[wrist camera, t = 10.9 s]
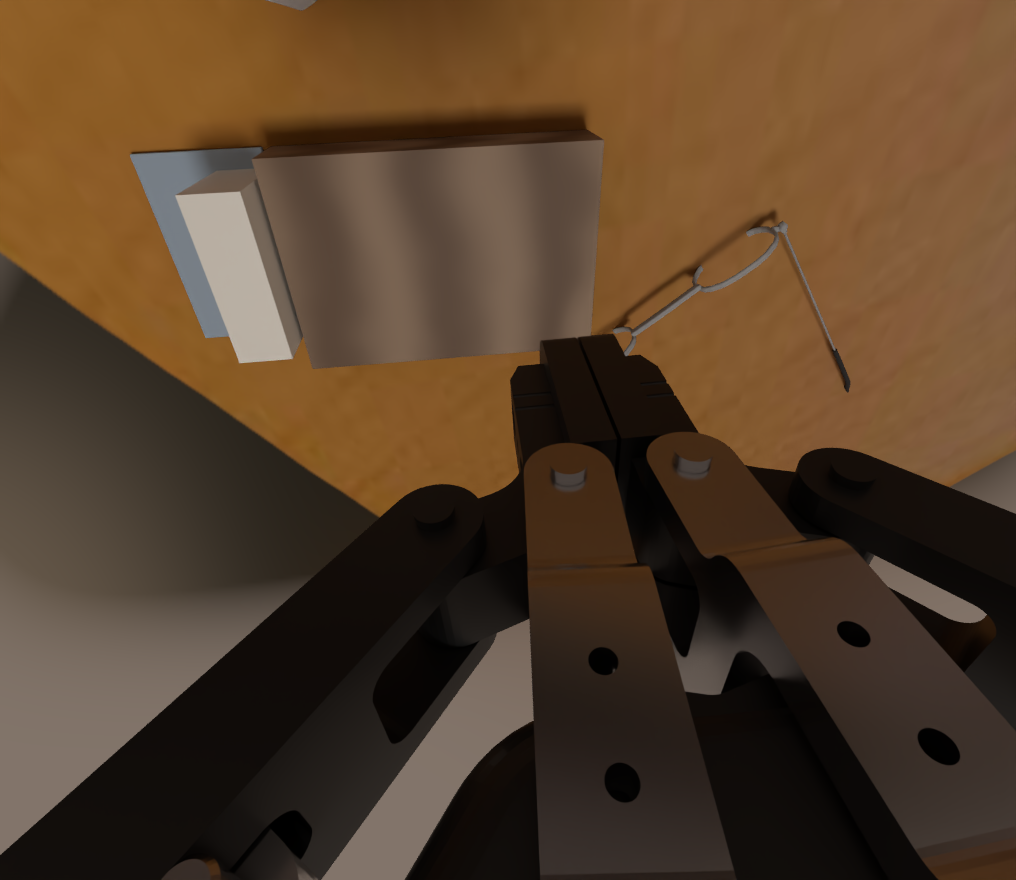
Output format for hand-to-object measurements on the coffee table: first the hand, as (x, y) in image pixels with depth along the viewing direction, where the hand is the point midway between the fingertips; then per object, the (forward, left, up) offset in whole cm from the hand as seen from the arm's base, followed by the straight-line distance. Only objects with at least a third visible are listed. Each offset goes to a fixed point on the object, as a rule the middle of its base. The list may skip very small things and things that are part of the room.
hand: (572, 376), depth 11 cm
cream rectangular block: (+14, +4, -22) cm, 26 cm away
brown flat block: (+3, +5, -25) cm, 26 cm away
